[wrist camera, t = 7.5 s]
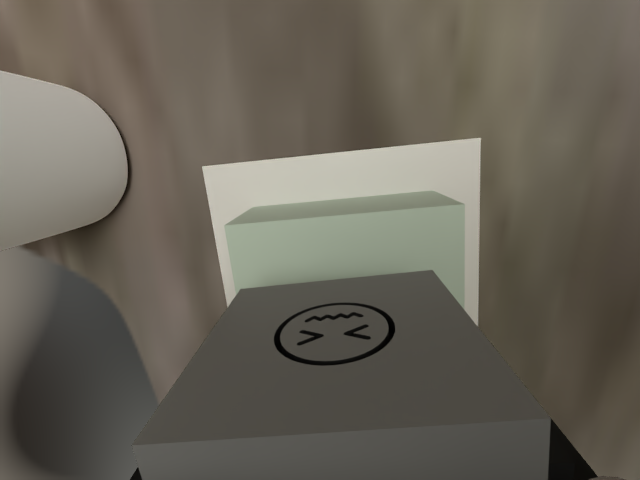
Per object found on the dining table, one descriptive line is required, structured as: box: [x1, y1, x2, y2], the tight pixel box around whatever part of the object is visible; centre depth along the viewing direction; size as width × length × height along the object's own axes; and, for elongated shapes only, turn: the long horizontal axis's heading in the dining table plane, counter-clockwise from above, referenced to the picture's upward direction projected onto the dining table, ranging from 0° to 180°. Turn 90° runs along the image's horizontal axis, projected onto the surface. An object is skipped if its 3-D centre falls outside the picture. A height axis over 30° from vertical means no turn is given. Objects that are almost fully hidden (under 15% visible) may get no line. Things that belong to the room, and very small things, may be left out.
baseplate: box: [202, 138, 481, 326], centre depth 17 cm, size 12×12×1 cm
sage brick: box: [224, 190, 465, 309], centre depth 14 cm, size 8×8×4 cm
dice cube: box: [132, 270, 551, 480], centre depth 7 cm, size 5×5×5 cm
